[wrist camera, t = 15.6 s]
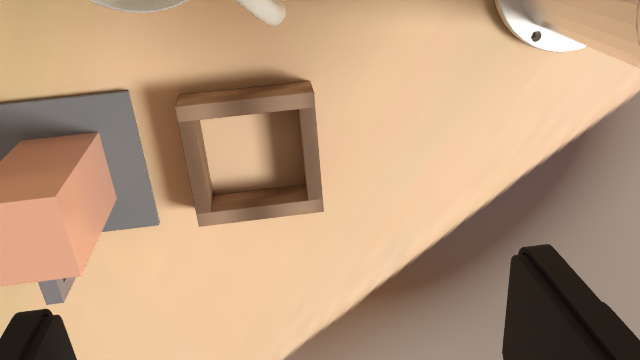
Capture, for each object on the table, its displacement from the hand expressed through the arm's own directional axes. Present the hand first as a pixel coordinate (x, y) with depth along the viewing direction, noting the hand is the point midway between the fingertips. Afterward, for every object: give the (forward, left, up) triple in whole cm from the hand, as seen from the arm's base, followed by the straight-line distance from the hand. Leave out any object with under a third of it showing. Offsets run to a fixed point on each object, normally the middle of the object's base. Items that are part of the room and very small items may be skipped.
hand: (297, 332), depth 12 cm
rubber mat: (+17, +10, -34) cm, 40 cm away
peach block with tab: (+17, +11, -34) cm, 39 cm away
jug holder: (+2, +10, -34) cm, 36 cm away
